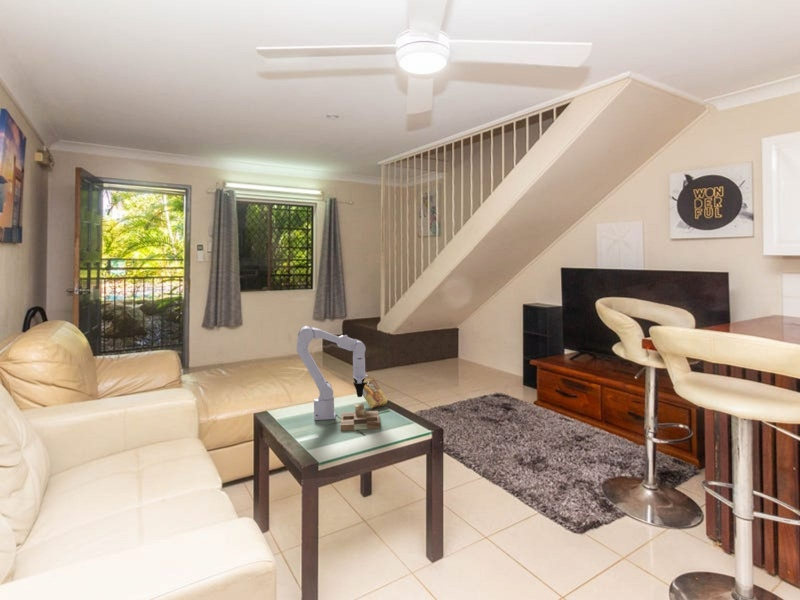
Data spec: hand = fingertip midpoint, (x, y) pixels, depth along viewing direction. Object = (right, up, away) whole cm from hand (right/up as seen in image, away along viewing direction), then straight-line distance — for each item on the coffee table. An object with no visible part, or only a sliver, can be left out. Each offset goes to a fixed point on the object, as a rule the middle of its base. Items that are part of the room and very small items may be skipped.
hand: (359, 394), depth 203 cm
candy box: (+9, -7, +8) cm, 14 cm away
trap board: (+1, -10, -12) cm, 16 cm away
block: (+1, -7, -6) cm, 10 cm away
